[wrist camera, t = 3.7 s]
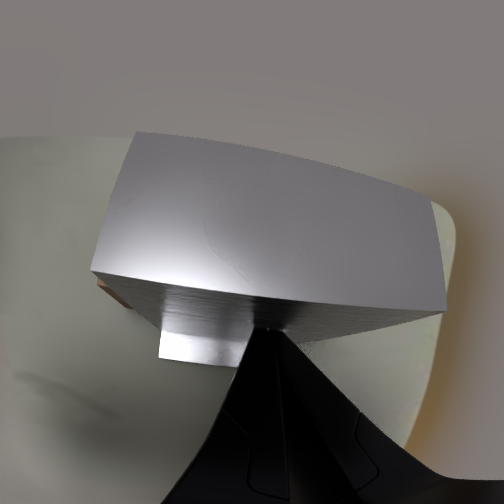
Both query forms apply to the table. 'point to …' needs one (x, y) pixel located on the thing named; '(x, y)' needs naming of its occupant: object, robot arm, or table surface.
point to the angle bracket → (262, 247)
